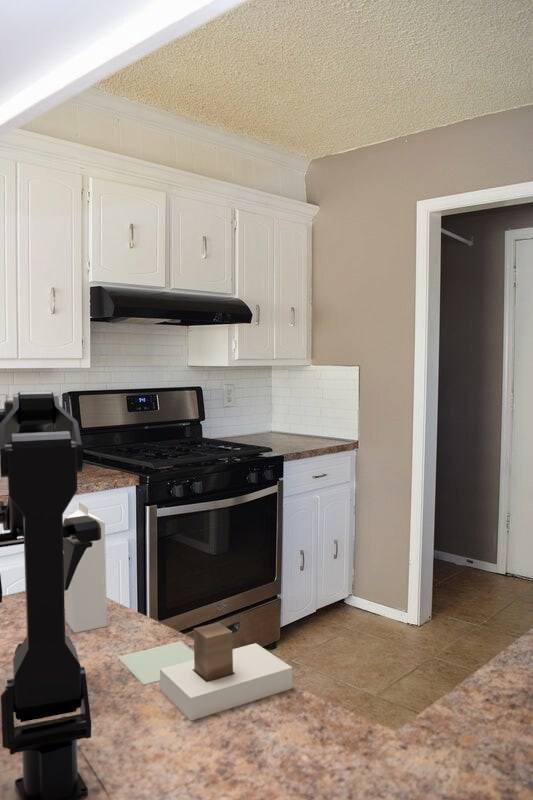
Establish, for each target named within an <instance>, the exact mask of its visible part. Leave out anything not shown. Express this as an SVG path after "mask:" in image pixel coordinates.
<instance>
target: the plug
mask: <svg viewBox="0 0 533 800" xmlns="http://www.w3.org/2000/svg"><path fill="white" fill-rule="evenodd" d="M233 646H234V645H233V631H232V630H230V629H229V628H228V627H226V626H225V625H223V624H222V623H220V622H216V623H211V624H207V625H202V626H199V627H194V628H193V651H194V672H195V673H196V674H197V675H198V676H200V677H201V678H202V679H203V680H204V681H205V682H210V681H213V680H216V679H220V678H223V677H227V676H230V675H233V649H234V648H233Z"/></svg>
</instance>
